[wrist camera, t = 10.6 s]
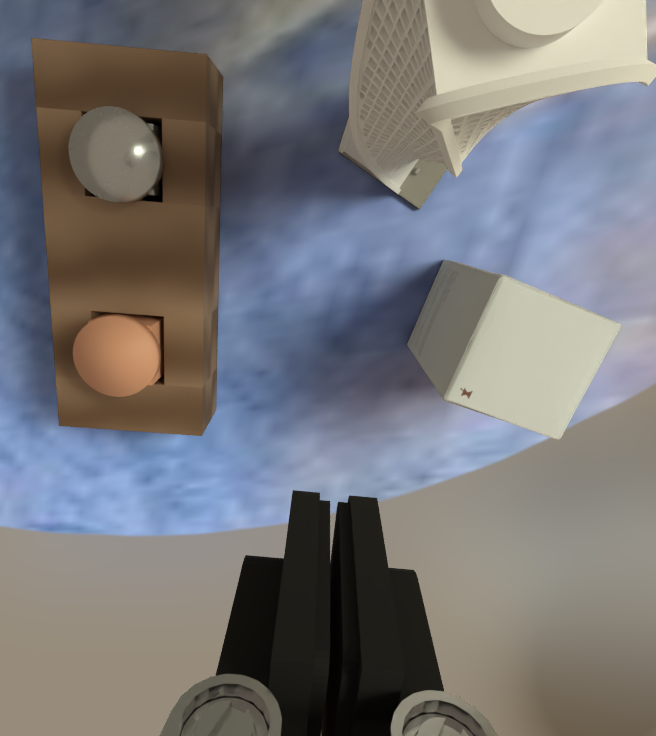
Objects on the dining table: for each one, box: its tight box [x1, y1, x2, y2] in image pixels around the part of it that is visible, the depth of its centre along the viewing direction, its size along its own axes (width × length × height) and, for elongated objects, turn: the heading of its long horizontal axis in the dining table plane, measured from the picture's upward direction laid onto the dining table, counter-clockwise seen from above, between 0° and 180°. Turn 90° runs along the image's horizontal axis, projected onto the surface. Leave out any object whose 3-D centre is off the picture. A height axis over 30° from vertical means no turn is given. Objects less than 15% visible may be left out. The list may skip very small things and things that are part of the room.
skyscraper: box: [338, 0, 656, 209], centre depth 22 cm, size 8×8×28 cm
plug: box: [69, 106, 164, 203], centre depth 33 cm, size 5×5×6 cm
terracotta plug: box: [73, 312, 164, 397], centre depth 35 cm, size 5×5×6 cm
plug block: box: [31, 38, 223, 436], centre depth 35 cm, size 24×10×5 cm, turn 175°
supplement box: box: [407, 260, 621, 440], centre depth 33 cm, size 7×7×13 cm
